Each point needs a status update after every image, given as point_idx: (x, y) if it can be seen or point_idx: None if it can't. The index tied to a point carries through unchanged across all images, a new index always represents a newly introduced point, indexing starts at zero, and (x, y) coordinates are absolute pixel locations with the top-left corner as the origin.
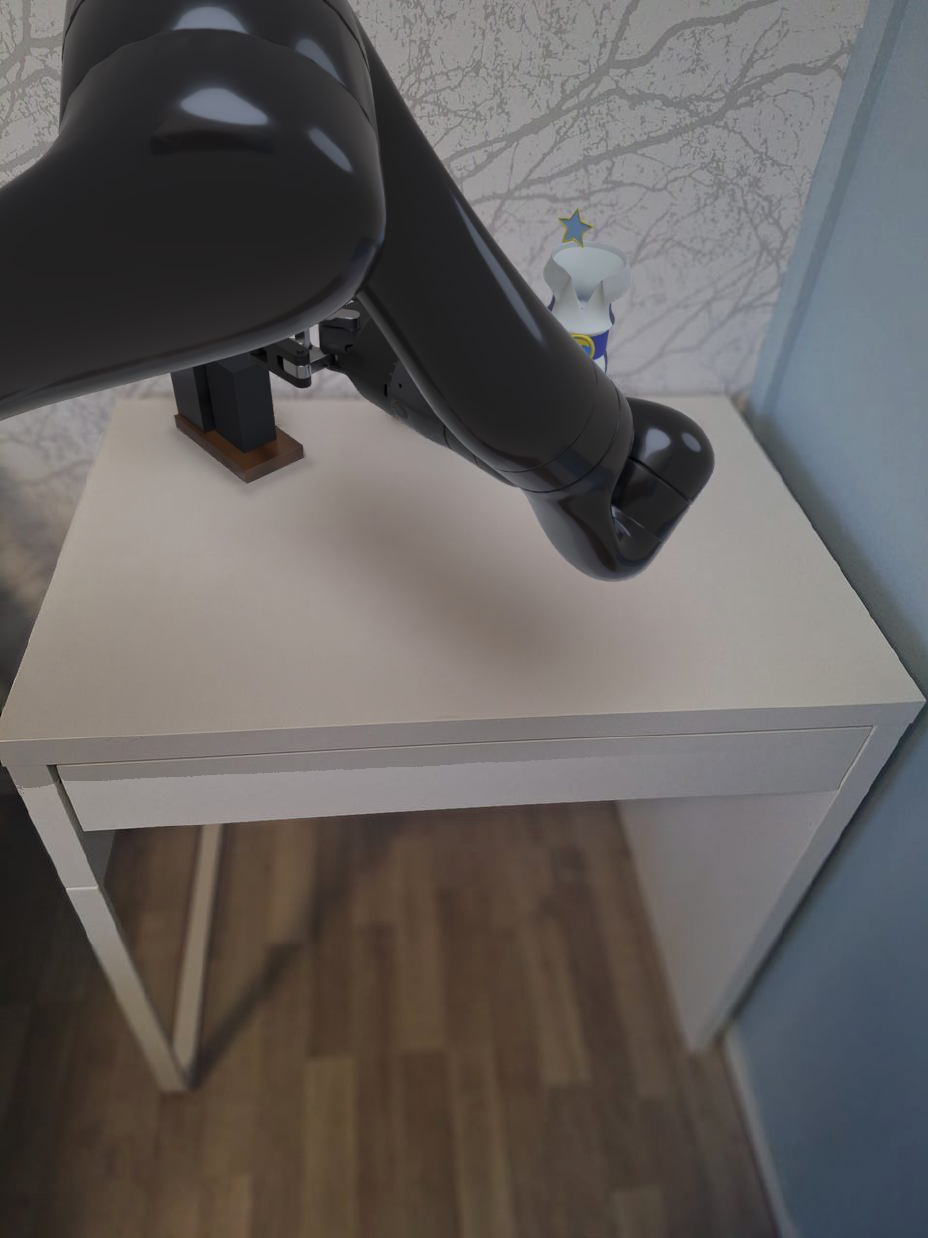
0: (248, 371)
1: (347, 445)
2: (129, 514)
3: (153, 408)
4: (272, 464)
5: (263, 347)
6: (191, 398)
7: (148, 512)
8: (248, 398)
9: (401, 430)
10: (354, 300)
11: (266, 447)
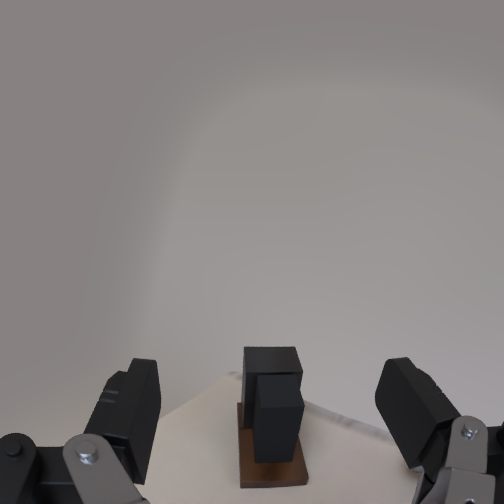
0: (279, 410)
1: (350, 486)
2: None
3: (236, 388)
4: (271, 483)
5: (35, 502)
6: (243, 401)
7: (152, 467)
8: (272, 430)
9: (403, 484)
10: (400, 449)
11: (277, 466)
